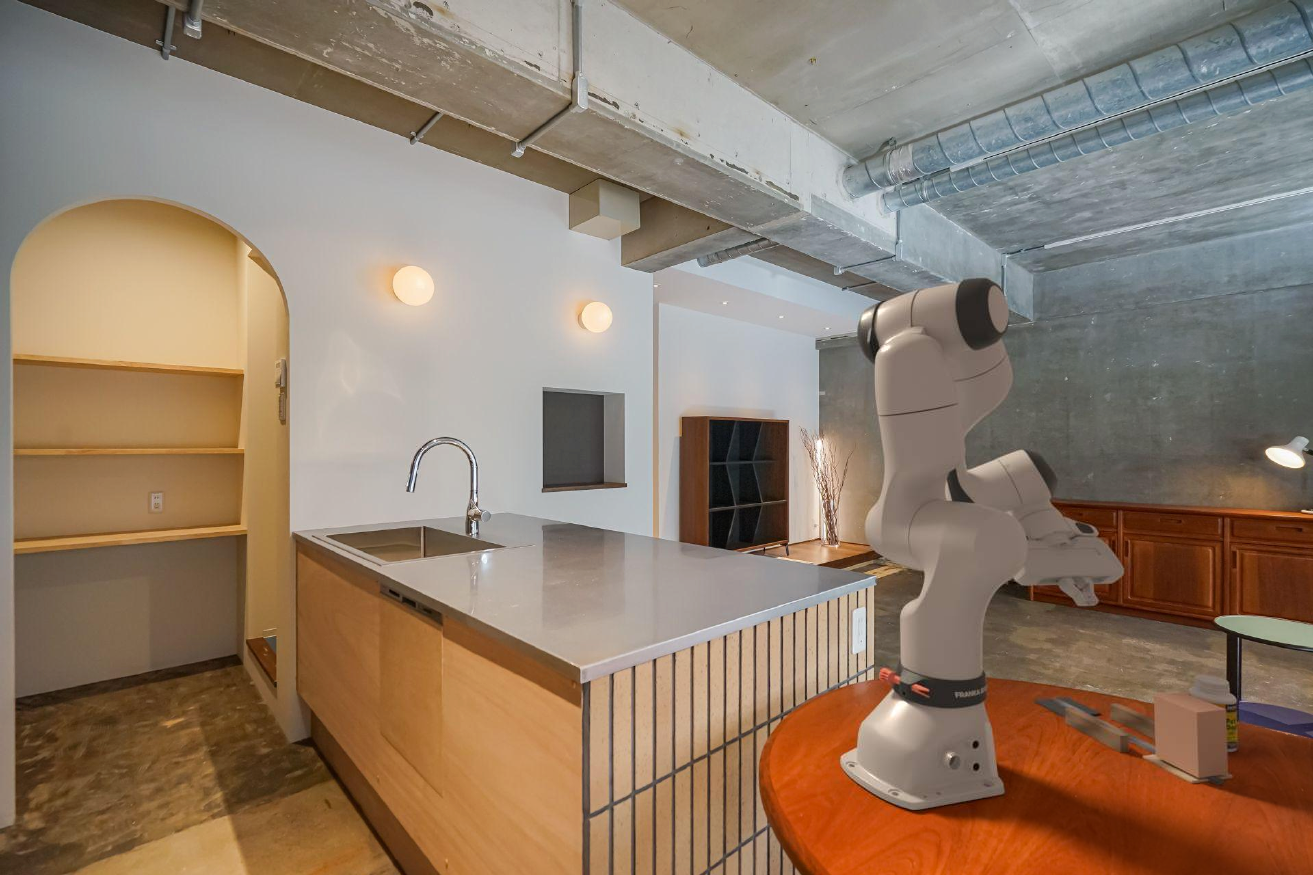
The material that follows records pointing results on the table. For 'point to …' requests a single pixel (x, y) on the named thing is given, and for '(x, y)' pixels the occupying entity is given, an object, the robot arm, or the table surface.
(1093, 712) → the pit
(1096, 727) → the track
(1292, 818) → the table surface
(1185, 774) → the mat
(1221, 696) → the supplement bottle
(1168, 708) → the block
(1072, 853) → the table surface
